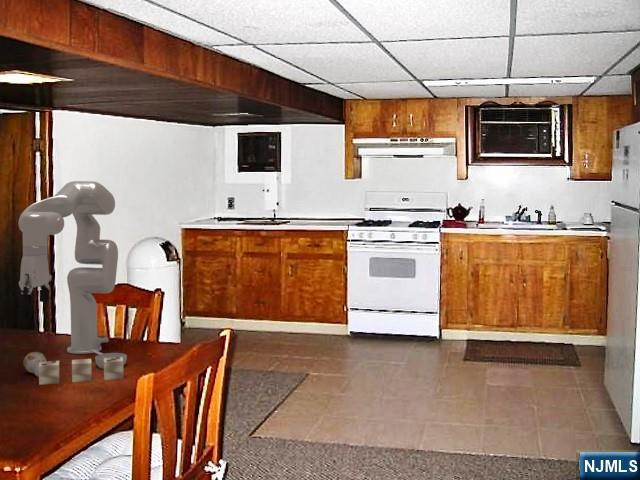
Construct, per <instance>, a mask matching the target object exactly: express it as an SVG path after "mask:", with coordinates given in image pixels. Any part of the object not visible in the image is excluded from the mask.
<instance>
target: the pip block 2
mask: <svg viewBox="0 0 640 480" xmlns="http://www.w3.org/2000/svg"><path fill="white" fill-rule="evenodd" d="M124 375H125V374H124V366H123V357H113V358H104V369H103V379H104V381H112V380H124V377H125V376H124Z"/></svg>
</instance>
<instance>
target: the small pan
mask: <svg viewBox="0 0 640 480" xmlns="http://www.w3.org/2000/svg"><path fill="white" fill-rule="evenodd" d="M91 351H92V352H94V353H93V354H97V355H96V356H95V357H94V359H95V360H94V361H95V364H96V365H97V367H98V368H99V369H103V370H104V358H113V357H123V367H124V366H125V365H126V363H127V359H128V355H127V354H125V353H120V352H109V353H107V352H106V353H102V352H100V351H96V350H91Z"/></svg>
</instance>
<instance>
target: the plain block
mask: <svg viewBox="0 0 640 480" xmlns="http://www.w3.org/2000/svg"><path fill="white" fill-rule="evenodd" d="M92 371H93V370H92V358H83V359H82V358H80V359H72V360H71V381H72V383H84V382H86V383H87V382H92V380H93V379H92V378H93V377H92V376H93V375H92Z"/></svg>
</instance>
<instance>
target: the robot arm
mask: <svg viewBox="0 0 640 480" xmlns="http://www.w3.org/2000/svg"><path fill="white" fill-rule="evenodd" d="M115 207H116V201H115V197H114V195H113V193H111V191H109V190H108V188H107V187H105V186H104V185H103V184H101V183H99V182H98V181H88V180H87V181H86V180H75V181H74V180H73V181H69V182H67V183H65V185H64V186H62V187H61V189H60V190H59V191H58V192H57V193H55V195H53V196H50V197H48V198H45V199H41V200H39V201H36V202H34V203H32V204H30V205H28V206H27V207H26V208H25V209H24V211H22V212H21V214H20V215H19V219H18V227H19V230H20V231H21V233H22V258H21V261H20V262H21V263H20V275H19V276H20V278H19V281H18V286H19V290H20V292H21V295H22V306H23V307H29V308H32V307H33V306H34V304H33V293H32V292H33V289H34V288H35V289H36V288H38V287H39V302H40V303H49V302H50V290H51V283H52V277H53V276H52V275H51V274H50V269H49V268H50V267H49V258H48V236H49V235H50V236H54V235H58V234H60V233H61V232H62V231H63V230H64V228H65V220H64V218H66V217H69V216H71V215H72V216H73V217H74V221H75V224H76V239H75V246H74V259H75V261H76V263H78V264H82V265H97V266H98V265H99V266H100V265H101V266H102V267H92V266H91V267H88V266H86V267H83V266H81V267H75V268H72V269H71V270H69V272H68V274H67V277H66V283H67V287H68V293H69V302H70V304H69V305H70V343H71V344H70V346H68V347H67V348H66V352H67V353H69V354H73V355H86V354H95V353H94V352H92V351H91V350H96V351H98V352H100V351H102V347H103V346H102V343H103V344H104V343H108V342H109V337H99V336H98V305H97V300H96V298H95V297H94V296H93V294H109V293H111V292H113V291H114V290H115V286H116V280H117V272H118V271H117V270H118V262H119V261H118V260H119V249H118V245H117V243H116V242H115V241H114V240H111V239H100V238H101V237H100V236H101V226H100V223H99V222H98V220H97V219H96V217H94V216H95V215H96V216H97V215H99V216H100V215H101V216H106V215H107V216H108V215H111V214H112V213H113V212H114V211H115Z"/></svg>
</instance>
